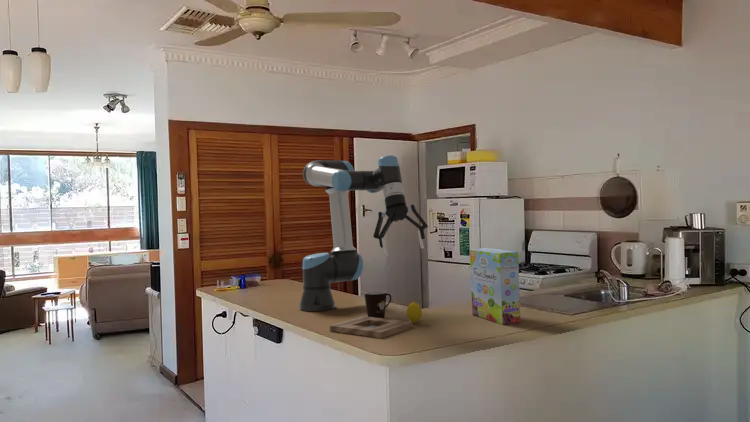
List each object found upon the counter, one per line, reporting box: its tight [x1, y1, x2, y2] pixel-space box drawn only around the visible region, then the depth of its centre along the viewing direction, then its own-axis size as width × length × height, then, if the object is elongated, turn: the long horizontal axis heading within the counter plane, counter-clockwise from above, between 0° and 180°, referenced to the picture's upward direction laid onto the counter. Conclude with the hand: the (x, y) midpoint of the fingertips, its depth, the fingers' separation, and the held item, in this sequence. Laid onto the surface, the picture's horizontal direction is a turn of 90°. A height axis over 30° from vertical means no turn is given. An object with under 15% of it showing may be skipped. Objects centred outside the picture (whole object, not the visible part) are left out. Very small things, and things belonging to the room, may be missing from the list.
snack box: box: [469, 247, 522, 326], centre depth 210 cm, size 22×9×26 cm, turn 21°
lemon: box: [406, 301, 423, 324], centre depth 206 cm, size 6×6×8 cm
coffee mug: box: [363, 290, 392, 319], centre depth 218 cm, size 12×9×10 cm
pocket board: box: [329, 315, 413, 339], centre depth 198 cm, size 22×19×2 cm
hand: (404, 252), depth 205 cm, fingers open, 13 cm apart
